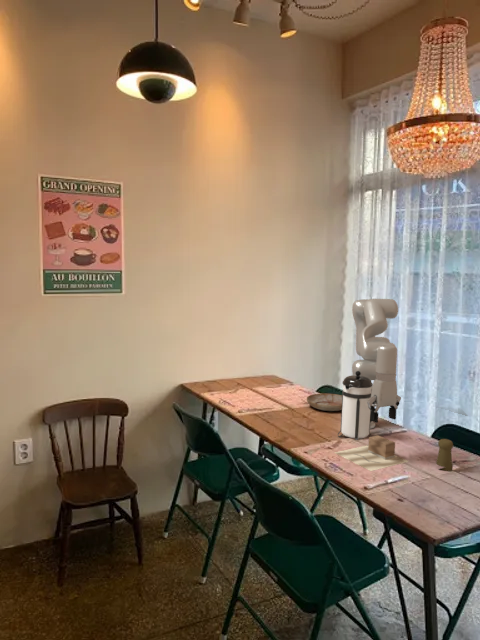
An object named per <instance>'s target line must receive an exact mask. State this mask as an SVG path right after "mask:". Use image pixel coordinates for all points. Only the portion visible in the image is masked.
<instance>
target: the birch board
mask: <svg viewBox="0 0 480 640" xmlns="http://www.w3.org/2000/svg"><path fill="white" fill-rule="evenodd" d="M368 445H369V444H368ZM368 445H362V446H358V447H353V448H349V449H345V450H339V451H336V452H334V454H336V455H337V456H340V457H342V458H344V459H345V460H348V461H350V462H352V463H353V464H355V465H357V466H359V467H360V468H361V467H362V468H363V469H366V470H368V471H369V472H373V471H377V470H381V469H386V468H389V467H393V466H396V465H397V466H398V465H401V464H404V463H409V462H410V461H409V460H407V459H406V458H405V459H404V458H402V457H400V456H397V455H395V454H394V458H390V459H386V460H385V459H383V458H381V457H378V456H376V455H374V454H372V453H370V452H368Z"/></svg>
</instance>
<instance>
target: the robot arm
mask: <svg viewBox="0 0 480 640" xmlns="http://www.w3.org/2000/svg"><path fill="white" fill-rule="evenodd" d="M351 308H352V310H351V311H352V317H353V320H354V323H355V327H356V328H355V333H356V334H355V350H356V354H357V356H360V357H361V358H362V359H358V360H355V361H353V363H352V367H351V368H352V369H351V370H352V375H356V374H355V373H356V371H360V373H361V374H360V376H364V377H367V378H369V379H370V380H371V381H373V382H372V383H373V386H372V392H371V399H369V400H368V401H367V404H368V408H369V409H370V411H371V422H370V430H371V429H374V428H375V427H376V423H378V422H379V412H378V411H379V410H380V408H385V407H389V408H388V418H389V419H390V420H391V419H392V420H396V419H397V410H398V408H399V405H400V402H401V399H402V397H401V396H399V395H398V387H397V385H398V384H397V380H396V379H397V366H398V365H397V362H398V347H397V346H396V344H395V343H393V342H391V341H390V339H389V338H387V337H385V336H379V335H381V334H383V333H385V332H386V330H387V328H388V325H389V324H388V321H387V320H388V319H389V320H390V319H395V318H396V317H398V314H399V305H398V303H397V302H396V300H395V299H392V298H370V299H368V298H367V299H358V300H355V301H354V302H353V303H352V307H351Z"/></svg>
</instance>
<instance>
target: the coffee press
mask: <svg viewBox="0 0 480 640" xmlns="http://www.w3.org/2000/svg"><path fill="white" fill-rule="evenodd" d="M355 374H356V375H353V374H352V375H348V376H345V378H344V379H343V380H342V387H343V388H342V394H341V395H342V410H340V412H341V414H340V430H339V431H338V433H337V437H338V438H341V437H343V436H345V437H346V438H350V439H354V440H355V441H359V439H365V438H367V437H369V435H370V436H372V434H371V429H370V422H371V411H370V409H369V408H368V404H367V401H368V400H369V399H371V392H372V386H373V382H372V380H370V379H369V378H367V377H364V376H360V374H361V373H360V371H356V373H355ZM340 433H341V434H340ZM339 434H340V435H339Z"/></svg>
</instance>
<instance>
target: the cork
mask: <svg viewBox="0 0 480 640" xmlns="http://www.w3.org/2000/svg"><path fill="white" fill-rule="evenodd" d="M437 445H438V448H439V450H438V453H437V458H436V461H435V462H436V465H437V466H439V467H441V468H438V470H439V471H442V472H451V471H453V470H454V469H453V459H452V458H453V456H452V449H453V448H454V443H453V441H452V440H450V439H448V438H441V439H439V440H438V443H437Z"/></svg>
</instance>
